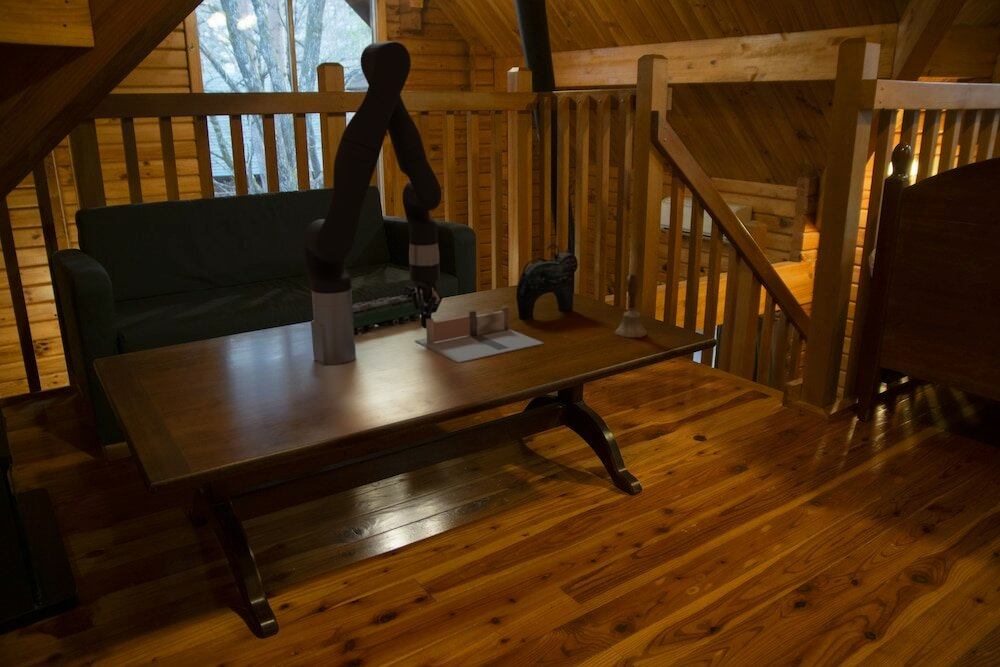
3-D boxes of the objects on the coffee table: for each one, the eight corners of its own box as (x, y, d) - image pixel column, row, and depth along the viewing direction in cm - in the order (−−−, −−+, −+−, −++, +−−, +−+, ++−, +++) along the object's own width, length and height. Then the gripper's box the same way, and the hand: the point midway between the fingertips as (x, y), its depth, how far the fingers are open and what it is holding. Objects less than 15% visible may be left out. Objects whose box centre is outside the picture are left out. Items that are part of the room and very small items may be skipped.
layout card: (458, 363, 185) (458, 361, 185) (415, 341, 201) (415, 340, 201) (543, 344, 199) (543, 342, 199) (496, 325, 215) (496, 323, 215)
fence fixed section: (471, 336, 204) (471, 312, 202) (468, 335, 205) (467, 311, 204) (509, 328, 211) (509, 305, 209) (506, 327, 212) (505, 304, 210)
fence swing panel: (466, 333, 205) (466, 311, 203) (470, 335, 204) (470, 312, 202) (425, 341, 198) (424, 319, 197) (429, 343, 197) (428, 320, 195)
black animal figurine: (567, 306, 234) (568, 239, 228) (581, 311, 229) (583, 243, 223) (513, 316, 223) (513, 247, 217) (526, 322, 218) (526, 251, 212)
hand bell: (647, 338, 203) (651, 278, 198) (615, 337, 204) (617, 277, 199) (645, 329, 211) (648, 271, 206) (614, 328, 212) (616, 270, 207)
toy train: (431, 318, 222) (429, 284, 220) (334, 341, 203) (332, 303, 200) (420, 315, 226) (419, 281, 223) (325, 337, 206) (322, 299, 203)
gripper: (398, 258, 199) (401, 324, 204) (424, 267, 189) (427, 336, 194) (424, 255, 203) (426, 319, 209) (451, 263, 193) (452, 330, 198)
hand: (426, 327), depth 201 cm, fingers closed
